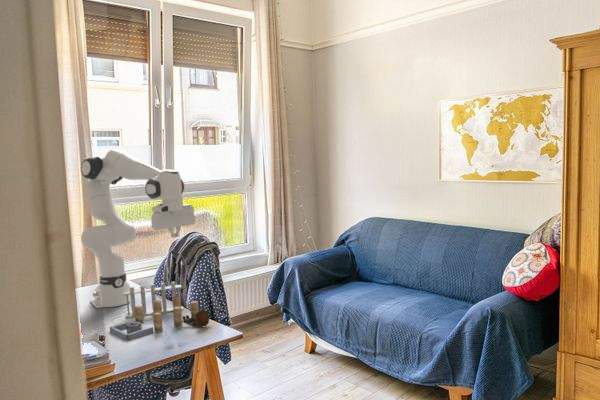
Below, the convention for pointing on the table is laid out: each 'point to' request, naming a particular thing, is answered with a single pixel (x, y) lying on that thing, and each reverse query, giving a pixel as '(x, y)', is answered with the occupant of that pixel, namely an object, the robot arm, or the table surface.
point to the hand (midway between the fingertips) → (175, 237)
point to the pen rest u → (118, 332)
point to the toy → (198, 318)
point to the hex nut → (133, 327)
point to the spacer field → (158, 313)
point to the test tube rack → (152, 298)
